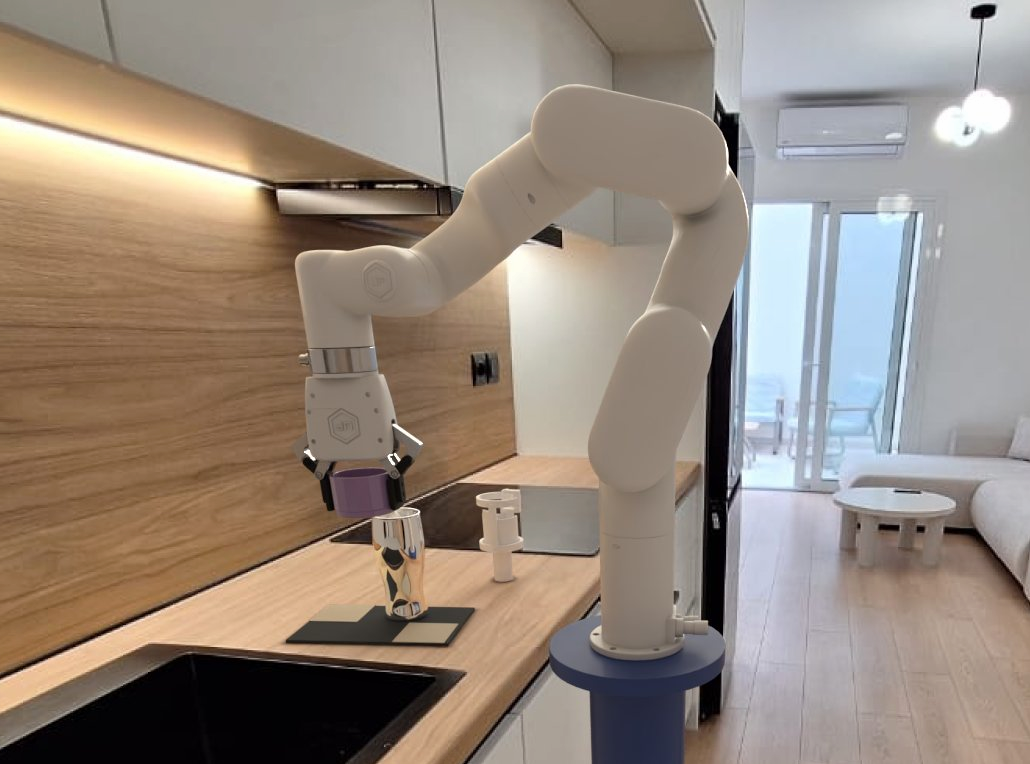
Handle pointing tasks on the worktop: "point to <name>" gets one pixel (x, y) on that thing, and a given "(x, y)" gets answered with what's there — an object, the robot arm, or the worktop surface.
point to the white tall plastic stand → (501, 529)
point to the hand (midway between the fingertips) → (366, 507)
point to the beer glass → (401, 562)
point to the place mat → (381, 626)
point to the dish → (360, 492)
